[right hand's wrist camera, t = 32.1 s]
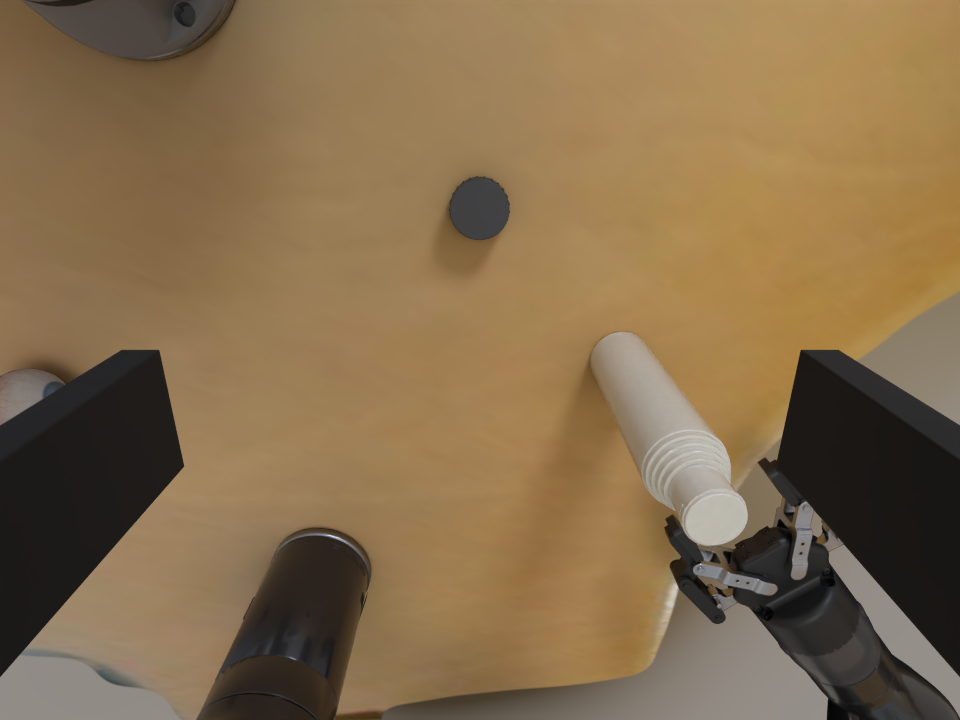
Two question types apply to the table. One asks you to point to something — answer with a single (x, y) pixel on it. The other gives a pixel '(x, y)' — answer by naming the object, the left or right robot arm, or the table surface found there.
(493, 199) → the cap
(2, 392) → the eyeball
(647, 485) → the bottle
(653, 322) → the table surface
